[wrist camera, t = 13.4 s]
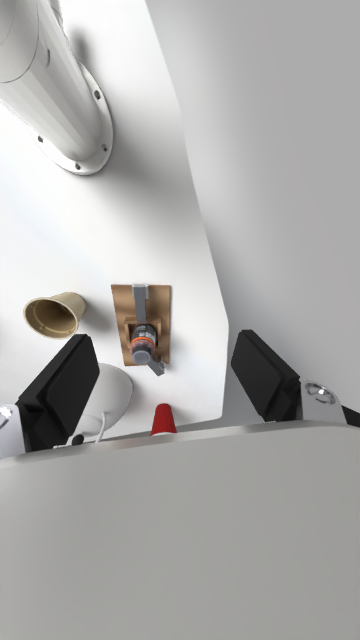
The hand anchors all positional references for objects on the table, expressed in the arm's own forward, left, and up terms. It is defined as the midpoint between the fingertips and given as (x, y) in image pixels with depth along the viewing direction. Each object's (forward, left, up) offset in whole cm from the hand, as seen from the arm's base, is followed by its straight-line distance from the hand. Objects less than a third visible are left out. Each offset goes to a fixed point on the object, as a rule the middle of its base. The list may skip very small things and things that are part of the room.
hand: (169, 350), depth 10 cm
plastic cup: (+55, 0, -31) cm, 63 cm away
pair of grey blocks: (+17, -3, -29) cm, 34 cm away
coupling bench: (+17, -5, -30) cm, 35 cm away
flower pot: (+9, -22, -31) cm, 39 cm away
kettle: (+41, -23, -31) cm, 56 cm away
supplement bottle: (+17, -5, -30) cm, 35 cm away
